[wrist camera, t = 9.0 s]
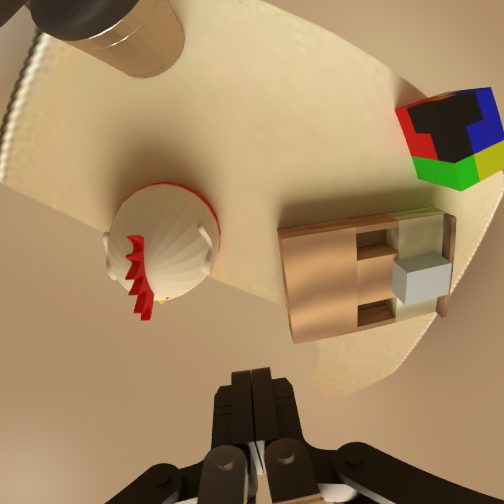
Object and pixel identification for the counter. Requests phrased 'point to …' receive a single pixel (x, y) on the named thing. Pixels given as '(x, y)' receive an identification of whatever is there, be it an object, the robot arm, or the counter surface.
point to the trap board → (357, 271)
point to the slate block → (421, 278)
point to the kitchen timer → (161, 243)
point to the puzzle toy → (454, 137)
